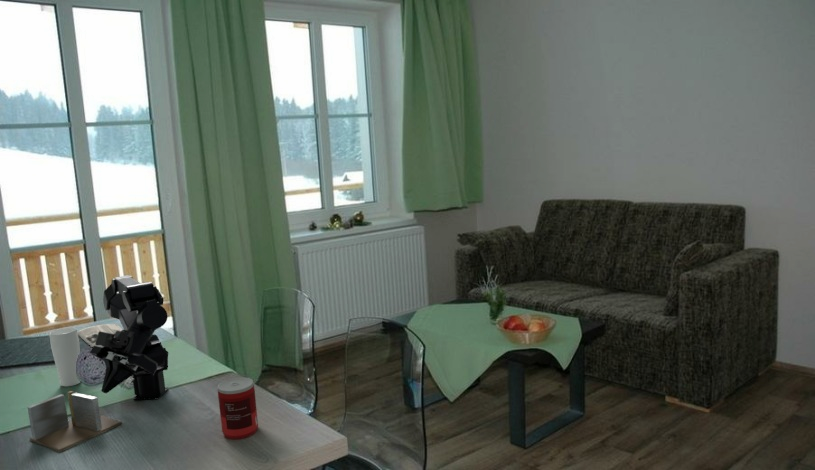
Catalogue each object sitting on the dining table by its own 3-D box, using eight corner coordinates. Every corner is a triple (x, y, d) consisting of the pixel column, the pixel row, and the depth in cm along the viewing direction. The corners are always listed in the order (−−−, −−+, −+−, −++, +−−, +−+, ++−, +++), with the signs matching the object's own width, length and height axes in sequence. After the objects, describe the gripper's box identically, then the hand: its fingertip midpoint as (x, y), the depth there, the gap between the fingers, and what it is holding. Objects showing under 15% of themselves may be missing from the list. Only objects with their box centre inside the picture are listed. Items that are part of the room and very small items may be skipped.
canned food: (243, 420, 147) (238, 374, 145) (266, 429, 141) (261, 381, 140) (214, 433, 141) (209, 386, 139) (237, 443, 136) (231, 394, 134)
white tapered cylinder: (73, 388, 172) (65, 334, 169) (51, 388, 173) (43, 334, 171) (90, 379, 178) (82, 327, 176) (69, 378, 180) (61, 326, 177)
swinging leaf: (75, 425, 147) (70, 394, 146) (80, 423, 148) (75, 392, 147) (97, 431, 143) (92, 399, 142) (102, 428, 144) (97, 397, 143)
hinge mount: (91, 414, 155) (86, 380, 153) (121, 424, 148) (116, 388, 147) (30, 440, 143) (24, 403, 141) (59, 452, 136) (53, 414, 135)
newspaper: (77, 336, 222) (75, 326, 221) (115, 327, 229) (114, 318, 229) (104, 360, 194) (103, 349, 194) (146, 350, 202) (145, 339, 202)
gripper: (92, 312, 156) (53, 371, 148) (140, 321, 146) (101, 384, 138) (125, 333, 163) (90, 390, 156) (173, 343, 153) (138, 405, 146)
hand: (103, 392), depth 149 cm, fingers closed
